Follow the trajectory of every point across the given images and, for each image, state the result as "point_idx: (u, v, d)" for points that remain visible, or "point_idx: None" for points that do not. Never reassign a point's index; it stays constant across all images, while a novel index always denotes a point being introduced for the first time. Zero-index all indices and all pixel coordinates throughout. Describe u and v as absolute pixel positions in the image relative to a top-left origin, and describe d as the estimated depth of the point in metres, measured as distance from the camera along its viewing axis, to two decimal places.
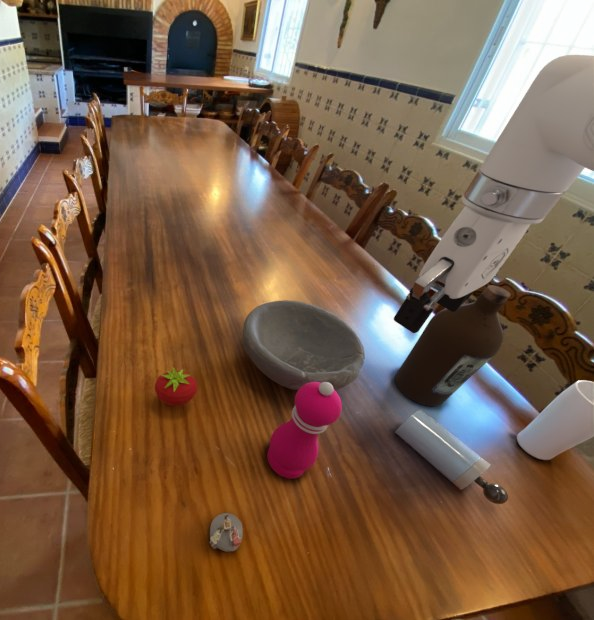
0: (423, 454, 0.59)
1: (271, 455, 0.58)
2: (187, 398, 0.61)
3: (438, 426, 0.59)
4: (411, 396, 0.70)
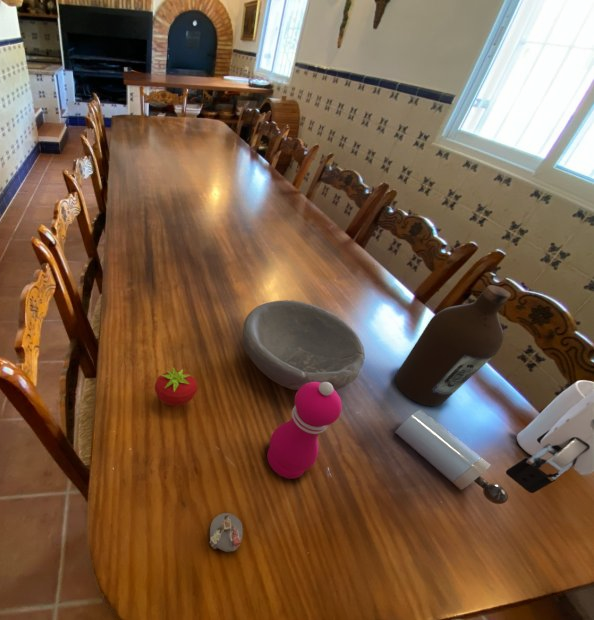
0: (423, 454, 0.59)
1: (271, 455, 0.58)
2: (187, 398, 0.61)
3: (438, 426, 0.59)
4: (411, 396, 0.70)
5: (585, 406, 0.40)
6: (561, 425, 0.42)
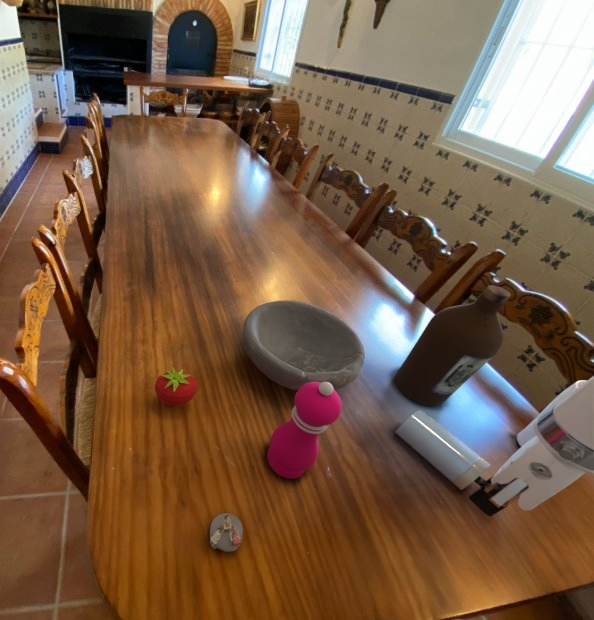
0: (423, 454, 0.59)
1: (271, 455, 0.58)
2: (187, 398, 0.61)
3: (438, 426, 0.59)
4: (411, 396, 0.70)
5: (525, 451, 0.46)
6: (506, 466, 0.48)
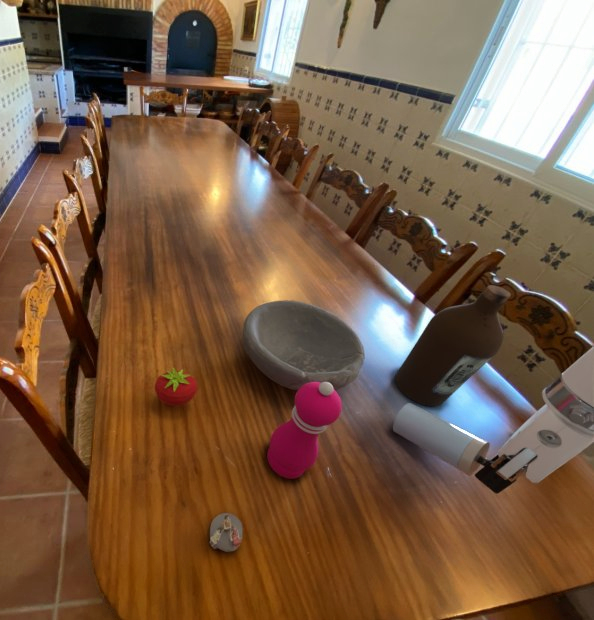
0: (422, 445, 0.59)
1: (271, 455, 0.58)
2: (187, 398, 0.61)
3: (429, 414, 0.60)
4: (411, 396, 0.70)
5: (533, 419, 0.45)
6: (514, 437, 0.46)
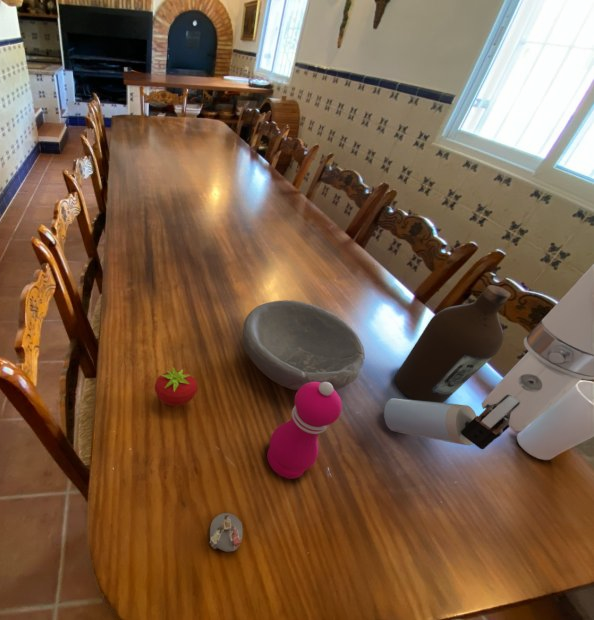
0: (415, 430, 0.59)
1: (271, 455, 0.58)
2: (187, 398, 0.61)
3: (410, 400, 0.62)
4: (411, 396, 0.70)
5: (515, 366, 0.45)
6: (496, 386, 0.47)
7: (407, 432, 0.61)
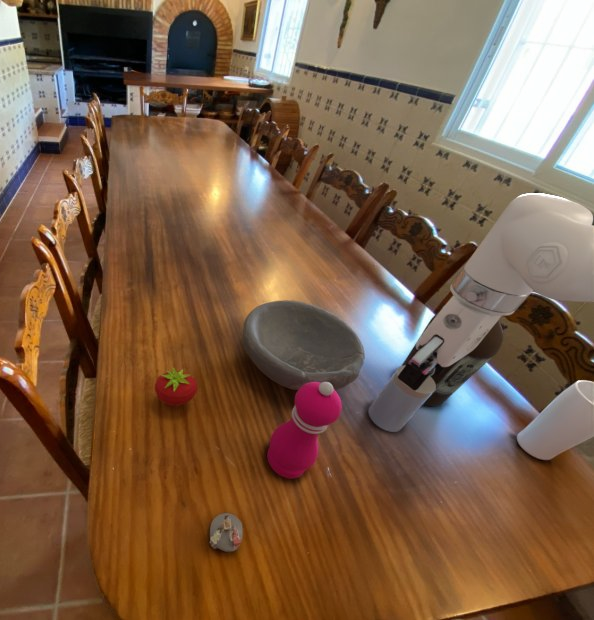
0: (392, 411, 0.62)
1: (271, 455, 0.58)
2: (187, 398, 0.61)
3: None
4: None
5: (442, 309, 0.50)
6: (427, 327, 0.52)
7: (393, 420, 0.63)
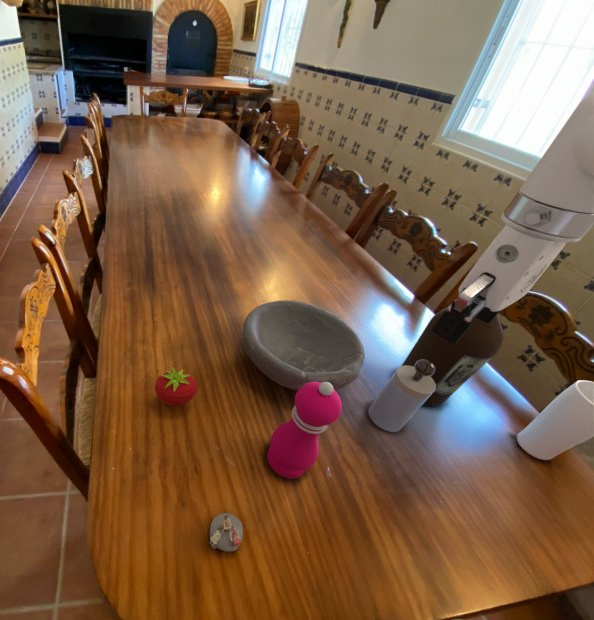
0: (392, 411, 0.62)
1: (271, 455, 0.58)
2: (187, 398, 0.61)
3: None
4: None
5: None
6: None
7: (393, 420, 0.63)
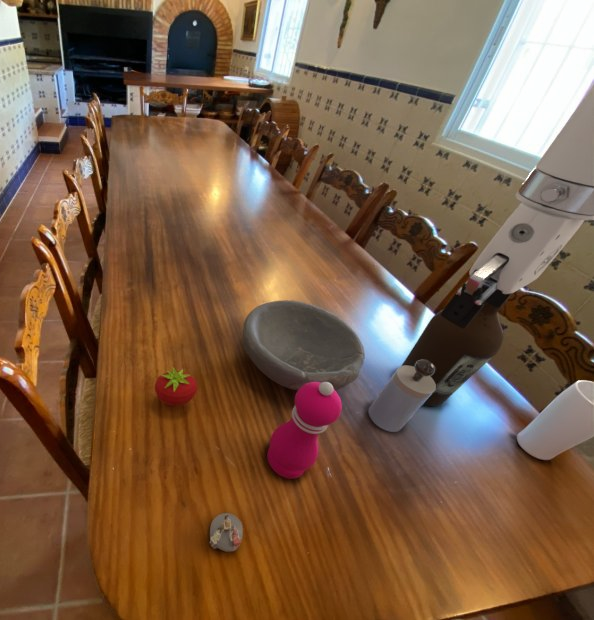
0: (392, 411, 0.62)
1: (271, 455, 0.58)
2: (187, 398, 0.61)
3: None
4: None
5: None
6: None
7: (393, 420, 0.63)
